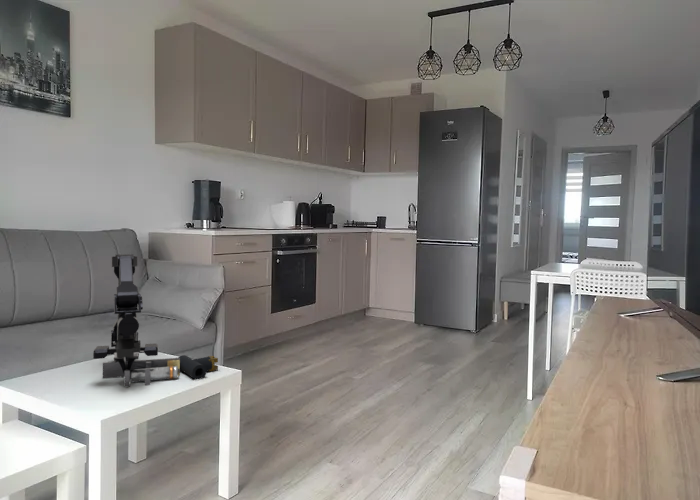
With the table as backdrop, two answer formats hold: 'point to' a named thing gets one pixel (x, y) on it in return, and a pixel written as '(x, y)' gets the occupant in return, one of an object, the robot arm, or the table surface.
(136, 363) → the gray rectangular bar
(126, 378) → the twin upright pegs
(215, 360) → the pipe connector
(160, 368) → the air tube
